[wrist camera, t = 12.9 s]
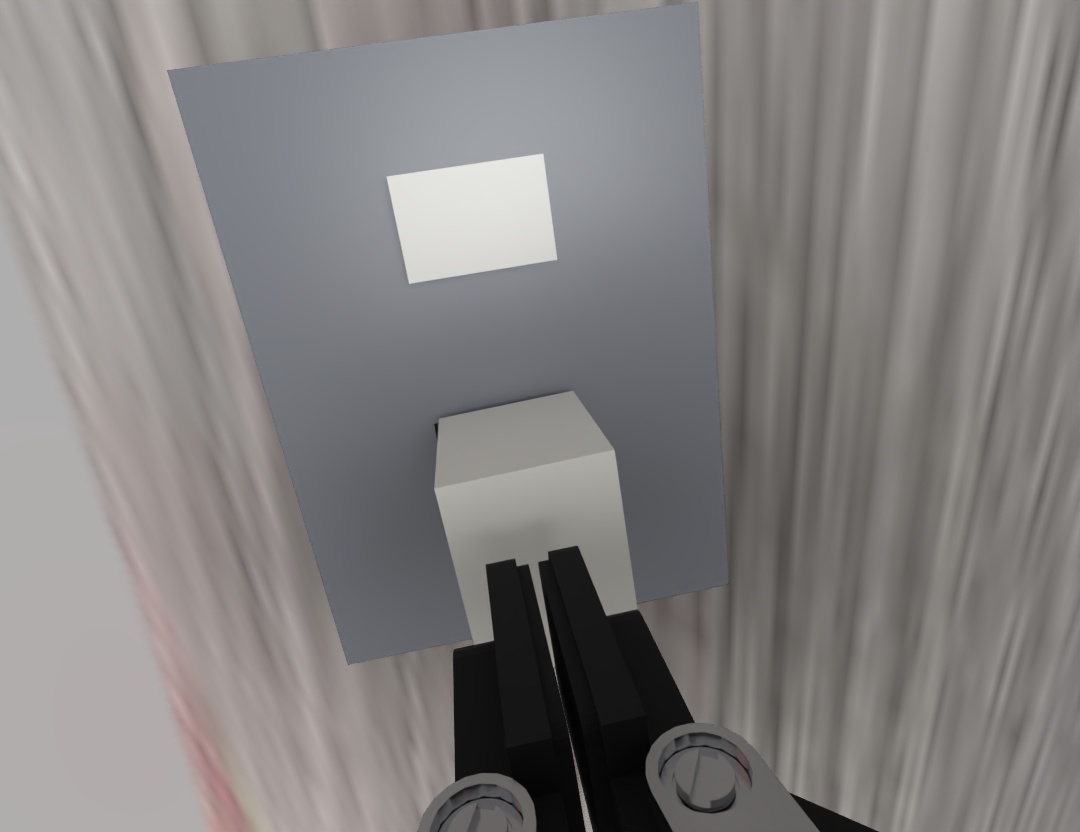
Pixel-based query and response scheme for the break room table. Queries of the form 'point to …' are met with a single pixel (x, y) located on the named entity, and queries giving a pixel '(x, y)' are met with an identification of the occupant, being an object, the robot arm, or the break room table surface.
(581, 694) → the robot arm
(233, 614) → the break room table surface
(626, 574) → the plug
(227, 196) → the socket plate
